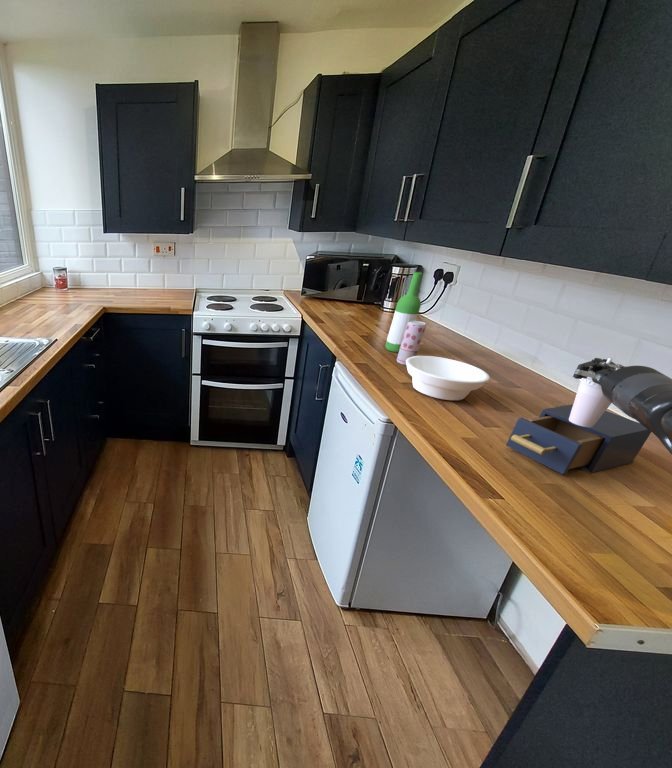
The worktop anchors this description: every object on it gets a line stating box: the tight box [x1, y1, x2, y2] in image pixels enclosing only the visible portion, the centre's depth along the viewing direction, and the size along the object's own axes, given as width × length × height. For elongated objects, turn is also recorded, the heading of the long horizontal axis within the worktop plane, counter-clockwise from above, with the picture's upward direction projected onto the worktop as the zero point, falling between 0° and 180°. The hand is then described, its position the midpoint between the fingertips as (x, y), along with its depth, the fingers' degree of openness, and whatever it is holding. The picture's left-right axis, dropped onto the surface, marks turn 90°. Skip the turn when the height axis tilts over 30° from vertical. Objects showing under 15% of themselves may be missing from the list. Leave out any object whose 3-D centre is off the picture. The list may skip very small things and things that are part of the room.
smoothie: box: [569, 357, 613, 427], centre depth 79 cm, size 6×6×14 cm
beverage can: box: [396, 320, 427, 366], centre depth 142 cm, size 6×6×15 cm
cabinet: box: [538, 403, 652, 474], centre depth 92 cm, size 15×13×9 cm
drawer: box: [505, 416, 606, 475], centre depth 88 cm, size 18×11×7 cm, turn 108°
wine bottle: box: [384, 271, 423, 354], centre depth 152 cm, size 8×8×30 cm
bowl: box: [405, 355, 491, 401], centre depth 120 cm, size 21×21×8 cm
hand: (598, 363), depth 80 cm, fingers closed on smoothie, 1 cm apart
